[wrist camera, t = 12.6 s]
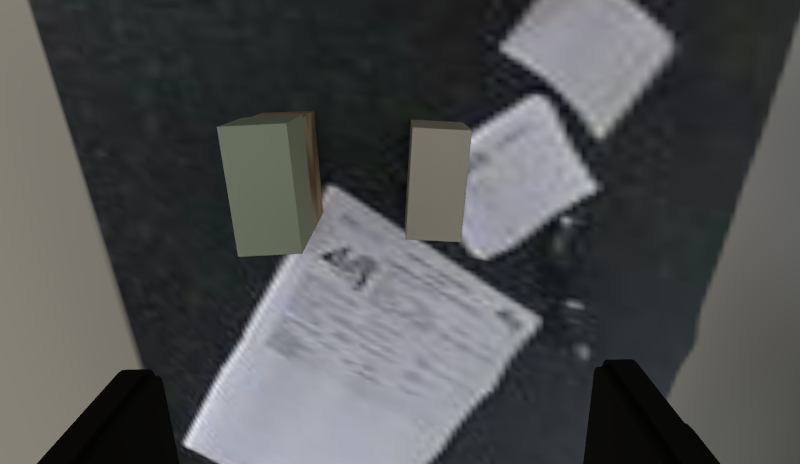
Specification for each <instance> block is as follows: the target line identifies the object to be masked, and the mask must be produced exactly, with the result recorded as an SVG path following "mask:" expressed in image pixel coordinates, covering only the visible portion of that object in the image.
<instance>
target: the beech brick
mask: <svg viewBox="0 0 800 464" xmlns="http://www.w3.org/2000/svg"><path fill="white" fill-rule="evenodd" d="M285 115H302V119H303V128H304V137H305V146H306V155H307V164H308V173H309V182H310V191H311V200H312V209H313V218H314V227H316V225H317V223H318V221H319V219H320V217H321V215H322V213H323V204H322V193H321V181H320V170H319V159H318V148H317V136H316V125H315V114H314V111H300V112H273V113H260V114H258V115H255V116H252V117H266V116H285Z"/></svg>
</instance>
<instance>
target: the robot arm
mask: <svg viewBox="0 0 800 464" xmlns="http://www.w3.org/2000/svg"><path fill="white" fill-rule="evenodd" d="M37 464H179V459H178V454H177V449H176V444H175V439H174V434H173V430H172V425H171V420H170V415H169V410H168V405H167V400H166V395H165V390H164V385H163V381H162V379H161V377H159V376H155V374H154V372H153V371H152V370H150V369H141V370H122V371H120V372H119V373H118V374H117V375H116V376H115V377H114V378H113V380H112V381H111V382H110V383H109V384H108V385H107V386H106V387H105V388H104V390H103V391H102V392H101V393H100V394H99V395H98V396H97V397H96V398H95V400H94V401H93V402H92V403H91V404H90V405H89V406H88V407H87V408H86V410H85V411H84V412H83V413H82V414H81V415H80V416H79V417H78V418H77V420H76V421H75V422H74V423H73V424H72V425H71V426H70V427H69V429H68V430H67V431H66V432H65V433H64V434H63V435H62V436H61V437H60V439H59V440H58V441H57V442H56V443H55V444H54V445H53V446H52V447H51V449H50V450H49V451H48V452H47V453H46V454H45V455H44V457H42V459H41V460H40V461H39V462H38V463H37ZM583 464H720V463H719V462H718V460H717V459H716V458H715V457H714V455H713V454H712V453H711V451H710V450H709V449H708V448H707V446H706V445H705V444H704V443H703V442H702V440H701V439H700V438H699V436H698V435H697V434H696V433H695V431H694V430H693V429H692V428H691V427H690V426H689V425H688V424H685V423H684V422H683V421H682V420H681V418H680V417H679V416H678V414H677V413H676V412H675V411H674V409H673V408H672V407H671V406H670V404H669V403H668V402H667V400H666V399H665V398H664V397H663V395H662V394H661V393H660V392H659V390H658V389H657V388H656V386H655V385H654V384H653V383H652V381H651V380H650V379H649V378H648V376H647V375H646V374H645V373H644V371H643V370H642V369H641V367H640V366H639V365H638V364H637V362H635V361H634V360H632V359H621V360H605V361H604V362H603V364H602V367H596V369H595V371H594V378H593V386H592V395H591V403H590V412H589V420H588V429H587V437H586V446H585V454H584V462H583Z"/></svg>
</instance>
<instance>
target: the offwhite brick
mask: <svg viewBox="0 0 800 464" xmlns="http://www.w3.org/2000/svg"><path fill="white" fill-rule="evenodd" d="M471 134H472V130H471V129H470V128H468V127H467V126H466V125H465V124H464V123H463V122H447V121H429V120H411V126H410V143H409V160H408V177H407V193H406V210H405V232H406V239H410V240H430V241H450V242H461V236H462V225H463V215H464V205H465V195H466V185H467V174H468V164H469V154H470V144H471Z"/></svg>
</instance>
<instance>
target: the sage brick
mask: <svg viewBox="0 0 800 464" xmlns="http://www.w3.org/2000/svg"><path fill="white" fill-rule="evenodd" d="M217 131H218V137H219V143H220V149H221V155H222V161H223V167H224V173H225V179H226V186H227V192H228V198H229V204H230V210H231V216H232V222H233V228H234V234H235V240H236V246H237V252H238V257H242V256H263V255H283V254H302V253H303V251H304V249H305V247H306V245H307V243H308V241H309V239H310V237H311V235H312V233H313V231H314V229H315V227H314V218H313V209H312V200H311V191H310V182H309V173H308V164H307V155H306V146H305V137H304V128H303V119H302V115H285V116H266V117H247V118H240V119H237V120H235V121H232V122H229V123H226V124H224V125H221V126H218V127H217Z"/></svg>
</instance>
